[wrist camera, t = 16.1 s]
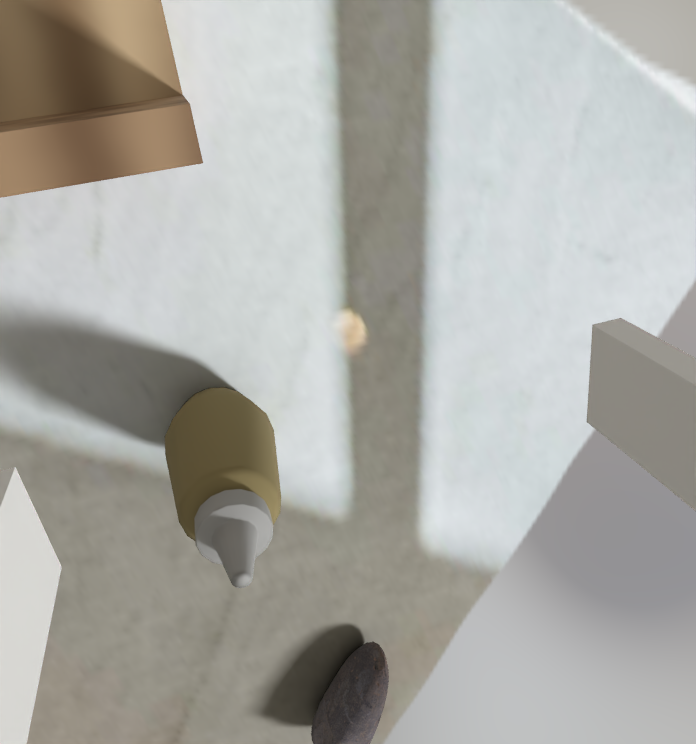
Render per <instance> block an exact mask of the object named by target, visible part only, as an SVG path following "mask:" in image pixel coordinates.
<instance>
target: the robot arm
mask: <svg viewBox="0 0 696 744" xmlns="http://www.w3.org/2000/svg"><path fill="white" fill-rule="evenodd" d="M587 423H589V424H590V425H591V426H592V427H594V428H595V429H596V430H597V431H599V432H600V433H601V434H602V435H603V436H605V437H606V438H607V439H608V440H609V441H611V442H612V443H613V444H614V445H616V446H617V447H618V448H619V449H621V450H622V451H623V452H624V453H625V454H627V455H628V456H629V457H630V458H631V459H633V460H634V461H635V462H636V463H638V464H639V465H640V466H641V467H642V468H644V469H645V470H646V471H647V472H649V473H650V474H651V475H652V476H653V477H655V478H656V479H657V480H658V481H659V482H661V483H662V484H663V485H665V486H666V487H667V488H668V489H669V490H670V491H672V492H673V493H674V494H675V495H677V496H678V497H679V498H680V499H681V500H683V501H684V502H685V503H686V504H687V505H689V506H690V507H691V508H693V509H694V510H695V511H696V358H695V357H693V356H691V355H689V354H687V353H685V352H683V351H681V350H680V349H678V348H676V347H674V346H672V345H670V344H669V343H667V342H665V341H663V340H661V339H659V338H657V337H655V336H654V335H652V334H650V333H648V332H646V331H644V330H642V329H640V328H639V327H637V326H635V325H633V324H631V323H629V322H627V321H625V320H624V319H622V318H619V319H615V320H611V321H606V322H602V323H598V324H594V325H593V327H592V343H591V360H590V376H589V393H588V409H587ZM61 568H62V567H61V565H60V562H59V560H58V558H57V556H56V554H55V552H54V550H53V547H52V545H51V543H50V541H49V539H48V537H47V534H46V532H45V530H44V528H43V526H42V524H41V521H40V519H39V517H38V515H37V513H36V511H35V508H34V506H33V504H32V502H31V500H30V498H29V495H28V493H27V491H26V489H25V487H24V485H23V483H22V480H21V478H20V476H19V474H18V472H17V470H16V467H12V468H8V469H4V470H0V744H27V739H28V734H29V729H30V723H31V718H32V713H33V708H34V703H35V698H36V693H37V688H38V683H39V678H40V673H41V668H42V663H43V658H44V653H45V648H46V643H47V638H48V633H49V628H50V623H51V618H52V613H53V608H54V603H55V598H56V593H57V588H58V583H59V578H60V573H61Z"/></svg>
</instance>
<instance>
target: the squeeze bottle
mask: <svg viewBox="0 0 696 744" xmlns="http://www.w3.org/2000/svg"><path fill="white" fill-rule="evenodd" d="M165 454H166V460H167V465H168V470H169V475H170V480H171V485H172V489H173V494H174V499H175V504H176V509H177V514H178V519H179V523H180V524H181V526H182V528H183V529H184V531H185V533H186V534H187V536H188V537H190V538H191V539H193V540H194V541H196V546H197V548H198V550H199V551H200V553H201V555H202V556H203V557H205V558H206V559H208V560H210V561H211V562H213V563H217V564H222V565H223V566H224V568H225V570H226V572H227V575H228V577H229V579H230V581H231V583H232V585H233V586H235V587H238V588H242V587H246V586H248V585H249V584H250V583H251V581H252V578H253V570H254V562H255V558H256V557H257V556H258V555H260V554H261V553H262V552H263V551H264V550H265V549H266V548H267V547H268V545H269V543H270V541H271V539H272V537H273V525H274V523H275V521H276V519H277V517H278V515H279V514H280V506H281V492H280V483H279V474H278V465H277V455H276V446H275V437H274V430H273V428H272V425H271V423H270V421H269V419H268V416H267V414H266V413H265V412H264V411H262V410H261V409H260V408H259V407H258V406H257V405H255V404H254V403H253V402H252V401H250V400H249V399H248V398H246V397H245V396H243V395H242V394H241V393H239V392H237V391H234V390H231V389H228V388H225V387H221V388H208V389H206V390H203V391H201V392H198V393H196V394H194V395H193V396H192V397H191V398H190V399H189V400H188V401H187V402H186V403H185V404H184V405H183V406H182V408H181V409H180V410H179V411H178V413H177V414H176V415H175V417H174V418H173V419H172V422H171V424H170V426H169V428H168V431H167V433H166V435H165Z"/></svg>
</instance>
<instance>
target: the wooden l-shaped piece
mask: <svg viewBox="0 0 696 744" xmlns="http://www.w3.org/2000/svg"><path fill="white" fill-rule="evenodd" d="M201 163H203V161H202V156H201V152H200V148H199V143H198V139H197V134H196V130H195V125H194V121H193V117H192V112H191V108H190V104H189V102H188V101H187V100H186V99H185V97H184V96H183V95H182V90H181V86H180V82H179V77H178V73H177V69H176V64H175V60H174V56H173V51H172V47H171V42H170V38H169V34H168V29H167V25H166V21H165V16H164V12H163V7H162V3H161V0H0V198H1V197H7V196H13V195H18V194H24V193H30V192H36V191H42V190H48V189H54V188H60V187H65V186H71V185H77V184H83V183H89V182H95V181H101V180H107V179H113V178H118V177H124V176H130V175H136V174H142V173H148V172H154V171H160V170H165V169H171V168H177V167H183V166H189V165H195V164H201Z"/></svg>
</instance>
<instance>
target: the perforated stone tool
mask: <svg viewBox="0 0 696 744" xmlns="http://www.w3.org/2000/svg"><path fill="white" fill-rule="evenodd" d="M388 679H389V675H388V665H387V661H386V657H385V654H384V652H383V650H382V648H381V647H380V645H378V644H377V643H375V642H370V643H366V644H364V645H362V646H360V647H359V648H358V649H357V650H355V651H354V652H353V653H352V654H351V655H350V656H349V657H348V658H347V660H346V661H345V662H344V664H343V665H342V667H341V668H340V669H339V671H338V673H337V674H336V676H335V677H334V679H333V681H332V683H331V684H330V686H329V687H328V689H327V691H326V692H325V694H324V696H323V699H322V700H321V702H320V703H319V706H318V709H317V712H316V714H315V716H314V719H313V724H312V733H311V735H312V741H313V743H314V744H370V742H371V740H372V738H373V736H374V734H375V731H376V729H377V726H378V723H379V721H380V717H381V714H382V711H383V708H384V704H385V700H386V696H387V689H388V682H389V681H388Z"/></svg>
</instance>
